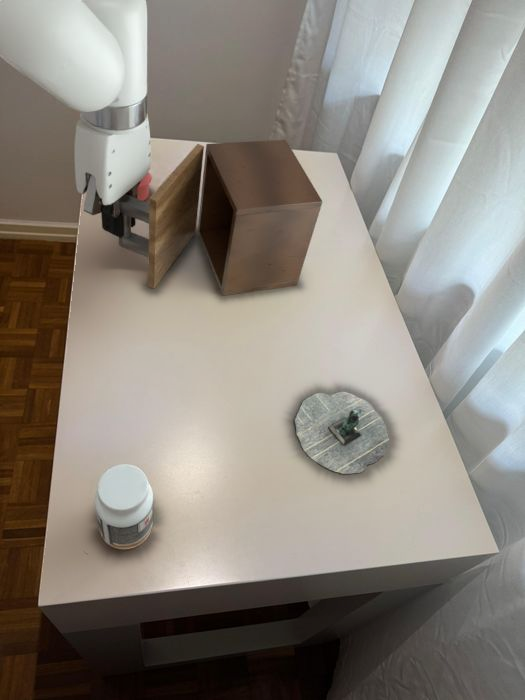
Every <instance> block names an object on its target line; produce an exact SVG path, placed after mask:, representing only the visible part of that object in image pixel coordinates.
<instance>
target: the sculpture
mask: <svg viewBox="0 0 525 700" xmlns="http://www.w3.org/2000/svg"><path fill="white" fill-rule="evenodd" d="M294 424H295V433H296V436H297V437H298V440H299V443H300V445H301V448H302V449H303V452H305V453H306V455H307V456H308V457H309V458H310V459H311V460H312V461H314V462H315V463H317V464H319V465H320V466H322V467H324V468H326V469H327V470H330V471H332V472H335V473H339V474H342V475H351V474H352V475H353V474H359V473H362V472H364V471H365V470H367V466H368V465H372V464H375V463H377V462H378V461H379V460H381V458H382V457H384V456H385V454H386V450H387V447H388V443H389V441H390V437H389V434H388V433H389V432H388V429H387V426H386V423H385V420H384V419H383V417H382V415H381V414H380V412H378V411H376V410H375V408H374V407H373V405H372V404H371V403H370V402H368V401H367V400H365V399H364V398H361V397H358V396H357V395H354V394H352V393H350V392H347V391H338V392H337V391H336V392H335V393H333V394H326V393H325V392H318V393H314V394H312V395H311V396H308V397H307V398H306V399H303V401H302V403H301V405H300V407H299V409H298V412H297V414H296V416H295V418H294Z"/></svg>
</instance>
